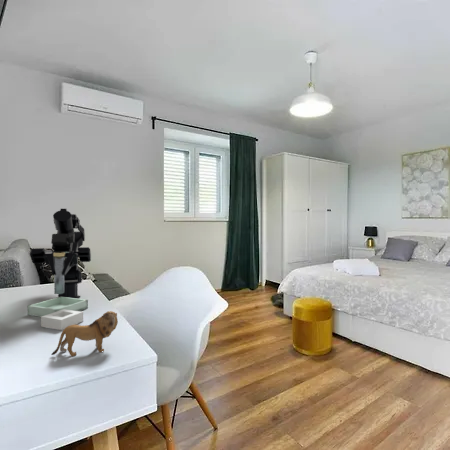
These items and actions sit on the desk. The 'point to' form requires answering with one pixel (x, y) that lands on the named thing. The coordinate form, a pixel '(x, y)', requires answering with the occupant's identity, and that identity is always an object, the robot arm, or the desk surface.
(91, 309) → the desk surface
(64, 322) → the socket block
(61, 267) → the pin
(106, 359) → the desk surface
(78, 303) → the tray
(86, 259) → the robot arm
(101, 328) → the lion figurine
